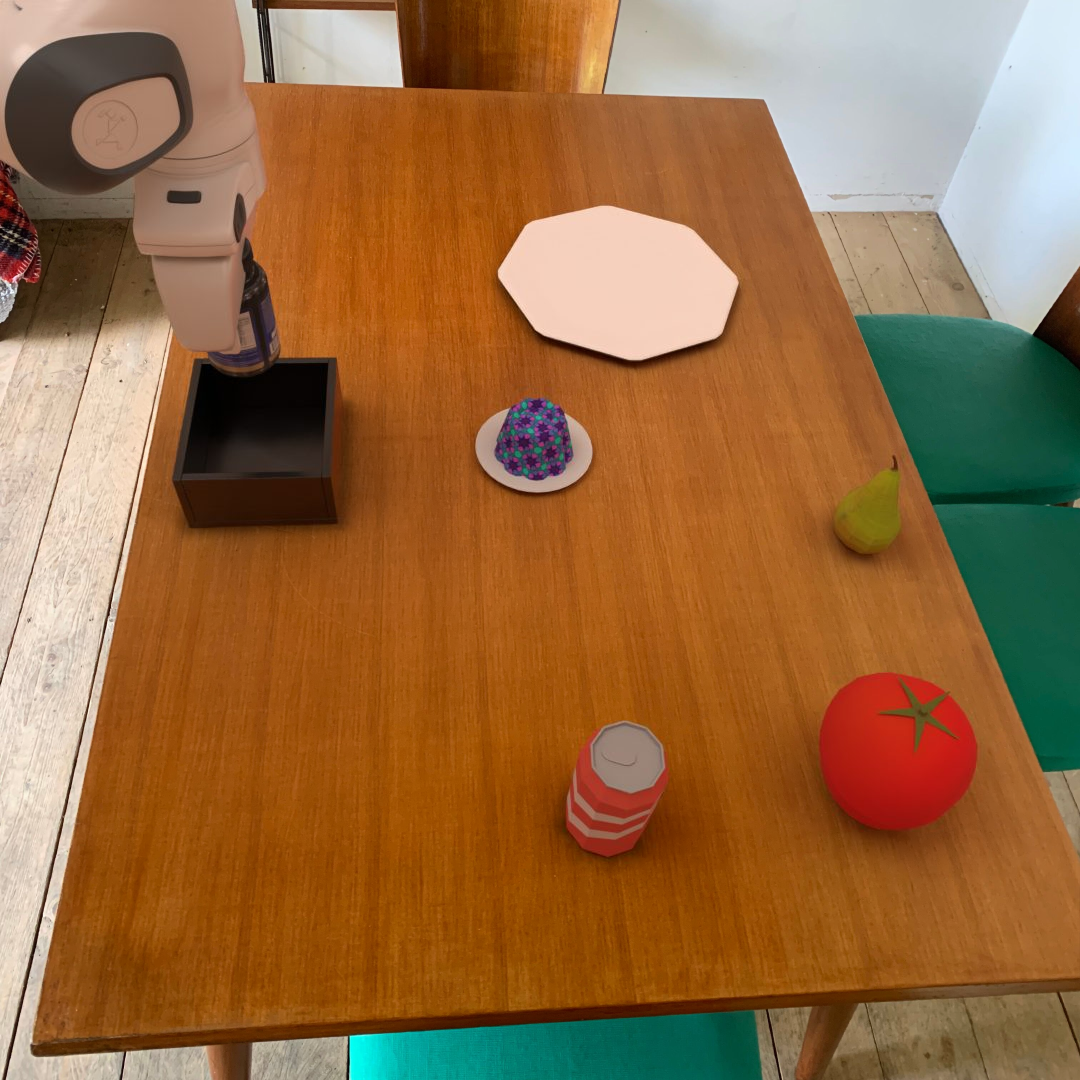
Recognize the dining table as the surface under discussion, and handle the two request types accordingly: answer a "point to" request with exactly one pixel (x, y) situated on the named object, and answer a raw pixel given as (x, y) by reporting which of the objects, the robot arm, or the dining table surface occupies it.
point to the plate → (618, 283)
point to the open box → (261, 445)
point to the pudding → (534, 447)
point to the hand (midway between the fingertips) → (235, 318)
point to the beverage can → (615, 787)
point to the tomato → (896, 751)
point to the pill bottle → (252, 325)
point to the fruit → (870, 513)
